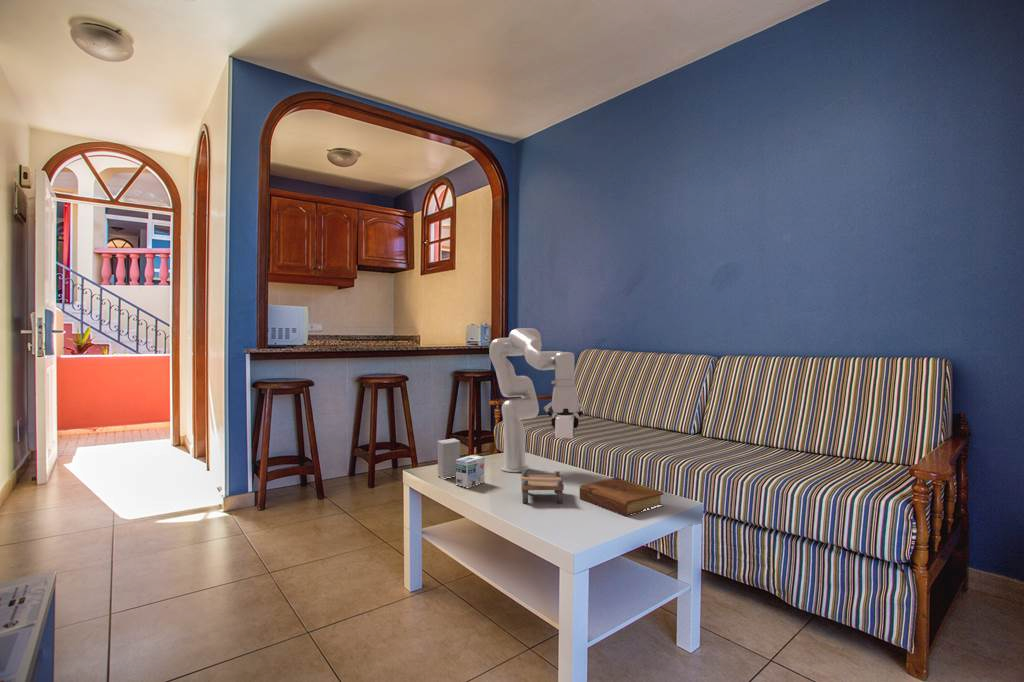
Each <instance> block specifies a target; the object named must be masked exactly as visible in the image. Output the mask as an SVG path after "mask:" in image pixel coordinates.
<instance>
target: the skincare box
mask: <svg viewBox="0 0 1024 682" xmlns="http://www.w3.org/2000/svg"><path fill="white" fill-rule="evenodd" d="M460 458H461V441H460V440H459V439H456V438H449V439H448V438H447V439H443V440H442V439H441V440H437V475H438V474H439V475H440V476H441V477H443V478H446V477H453V476H456V459H460Z"/></svg>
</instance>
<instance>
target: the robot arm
mask: <svg viewBox="0 0 1024 682" xmlns="http://www.w3.org/2000/svg"><path fill="white" fill-rule="evenodd" d="M541 336H542V335H541V333H540V331H539V330H537V329H536V328H533V327H532V328H531V327H527V328H526V327H524V328H523V327H519V328H515V329H512V330H511V331H510V332H509V334H508V337H498V338H495V339H493V340H492V341H491V342H490V345H489V349H488V350H489V359H490V361H491V363H492V365H493V368H494V371H495V373H496V378H497V382H498V387H499V390H500V393H501V395H502V396H503V397H505V398H512V399H508V400H505V401H504V402H503V403H502V405H501V415H502V421H503V464H502V465H501V466H500V470H502V471H503V472H507V473H522V472H523V471H526V472H528V470H529V465H527V464H526V430H525V426H524V425H523V423H522V421H521V420H528V419H529V420H530V419H534V418H536V417H537V416H538V415H539V412H540V409H539V408H540V407H539V406H540V405H539V401H538V398H537V393H536V388H535V387H534V383H533V380H532V379H531V378H530V377H529V376H527V375H516V371H515V367H514V365H513V364H512V362H511V361H510V360H509V359H508V358H507V357H519V356H520V357H522V356H524V359H525V361H526V363H527V364H528V365H529V366H531V367H532V368H533V369H536V370H539V371H549V370H552V371H555V372H554V373H555V374H554V376H555V378H554V380H551V384H552V385H554V386H553V389H552V397H551V401H550V402H549V403H548V404H545V406H544V407H543V410H544V412H546V414H547V415H548V416H549V417H550V418H551V425H550V426H551V427H552V428H553V429H554V430H555V420H556V416H557V413H562V412H563V409H565V408H566V409H568V411H569V412H570V413H573V416H574V429H577V428H578V427H579V418H580V417H581V416H582V415H583V414H584V412H586V409H587V408H586V406H585V405H584V404H582V403H580V402H579V395H578V394H579V393H578V388H577V386H575V354H574V353H573V352H569V351H560V350H559V351H557V350H555V351H554V350H550V351H549V350H547V351H545V350H543V351H541V350H542V339H541V338H542V337H541ZM515 397H516V398H515ZM517 397H521V398H517ZM550 408H551V409H552V412H551V411H550V410H549V409H550ZM579 408H580V410H579Z"/></svg>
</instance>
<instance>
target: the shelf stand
mask: <svg viewBox="0 0 1024 682" xmlns="http://www.w3.org/2000/svg"><path fill="white" fill-rule="evenodd" d="M553 473H554V474H528V471H523V472H521V475H520V480H521V481H520V483H521V493H522V504H523V503H524V504H523V505H527V503H528V504H529V491H554V494H556V503H557V504H559V505H561V504H563V492H564V490H565V488H564V487H565V485H564V483H563V480H562V476H561V475H560V471H559V470H558V471H557V470H556V471H554V472H553Z"/></svg>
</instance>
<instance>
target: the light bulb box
mask: <svg viewBox="0 0 1024 682" xmlns="http://www.w3.org/2000/svg"><path fill="white" fill-rule="evenodd" d="M482 482H484V483H485V456H480V455H475V454H471V455H468V456H464V457H460V459H456V477H455V485H456V484H457V485H460V486H464V487H470V486H473V485H476V484H479V483H482ZM479 485H480V484H479ZM460 486H459V487H460ZM476 486H477V485H476ZM464 487H463V488H464ZM473 487H474V486H473ZM470 488H471V487H470Z"/></svg>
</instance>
